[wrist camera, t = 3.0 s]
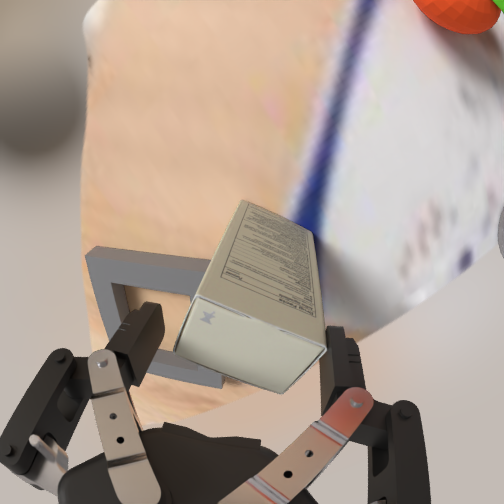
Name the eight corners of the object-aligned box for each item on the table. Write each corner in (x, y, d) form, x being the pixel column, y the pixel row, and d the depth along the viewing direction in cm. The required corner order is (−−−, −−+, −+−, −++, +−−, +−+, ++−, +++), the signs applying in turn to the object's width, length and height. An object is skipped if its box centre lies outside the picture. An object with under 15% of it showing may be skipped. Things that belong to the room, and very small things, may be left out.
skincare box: (220, 243, 24) (163, 352, 13) (241, 196, 22) (187, 289, 11) (291, 276, 25) (282, 400, 14) (318, 233, 23) (330, 351, 12)
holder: (224, 261, 25) (218, 273, 23) (225, 375, 32) (222, 388, 30) (96, 246, 26) (84, 255, 24) (124, 353, 33) (118, 364, 31)
